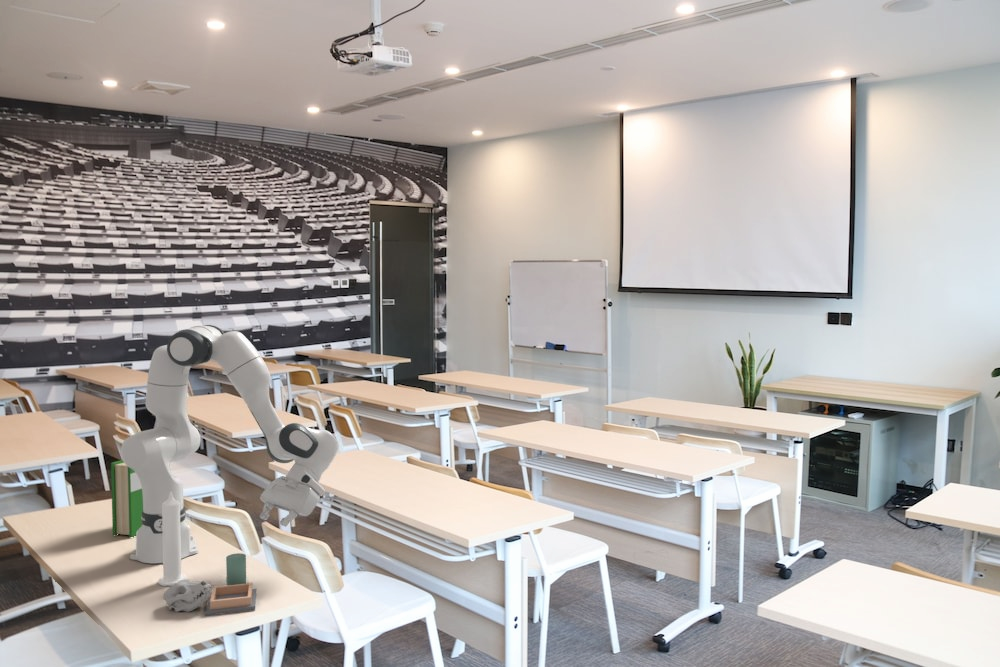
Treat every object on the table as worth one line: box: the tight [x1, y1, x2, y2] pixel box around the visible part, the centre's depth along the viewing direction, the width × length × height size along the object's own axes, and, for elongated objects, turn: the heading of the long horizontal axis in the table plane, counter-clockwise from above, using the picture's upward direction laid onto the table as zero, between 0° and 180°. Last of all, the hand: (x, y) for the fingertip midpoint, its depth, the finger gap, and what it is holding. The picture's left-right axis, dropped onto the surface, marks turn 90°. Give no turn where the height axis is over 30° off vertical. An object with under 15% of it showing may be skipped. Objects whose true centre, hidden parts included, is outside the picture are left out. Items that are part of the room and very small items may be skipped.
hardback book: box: [110, 459, 143, 538], centre depth 249 cm, size 18×7×24 cm, turn 165°
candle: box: [158, 491, 188, 587], centre depth 204 cm, size 7×7×25 cm
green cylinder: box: [225, 553, 247, 586], centre depth 201 cm, size 5×5×8 cm
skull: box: [162, 579, 213, 613], centre depth 187 cm, size 8×9×12 cm
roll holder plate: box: [204, 582, 257, 616], centre depth 190 cm, size 12×12×3 cm
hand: (272, 521), depth 210 cm, fingers open, 8 cm apart
